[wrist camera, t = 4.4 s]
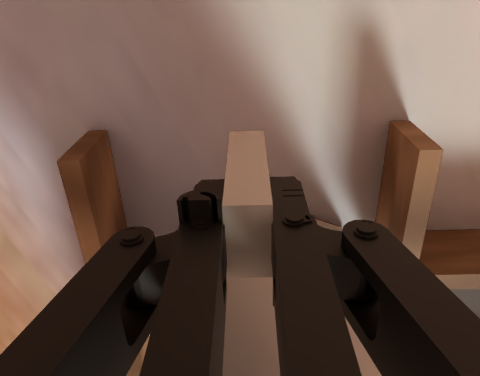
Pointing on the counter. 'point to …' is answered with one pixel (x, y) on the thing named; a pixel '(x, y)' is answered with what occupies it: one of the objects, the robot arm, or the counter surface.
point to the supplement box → (263, 329)
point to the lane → (388, 214)
